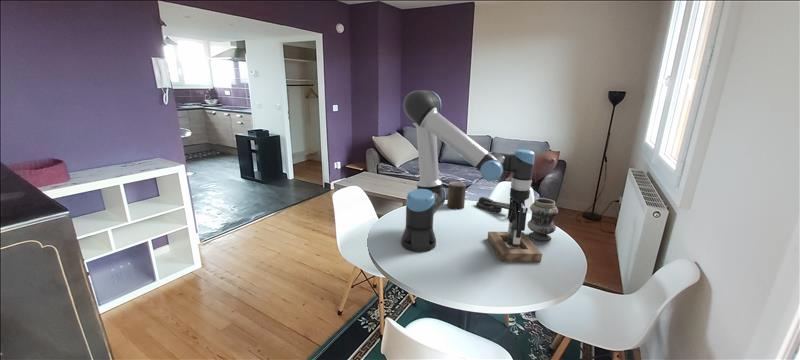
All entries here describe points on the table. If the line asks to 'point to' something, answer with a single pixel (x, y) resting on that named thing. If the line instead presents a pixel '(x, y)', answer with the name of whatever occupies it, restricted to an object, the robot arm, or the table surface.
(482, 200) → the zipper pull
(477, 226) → the table surface
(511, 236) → the stone chess piece
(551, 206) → the apothecary jar
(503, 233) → the block
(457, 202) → the pillar candle
